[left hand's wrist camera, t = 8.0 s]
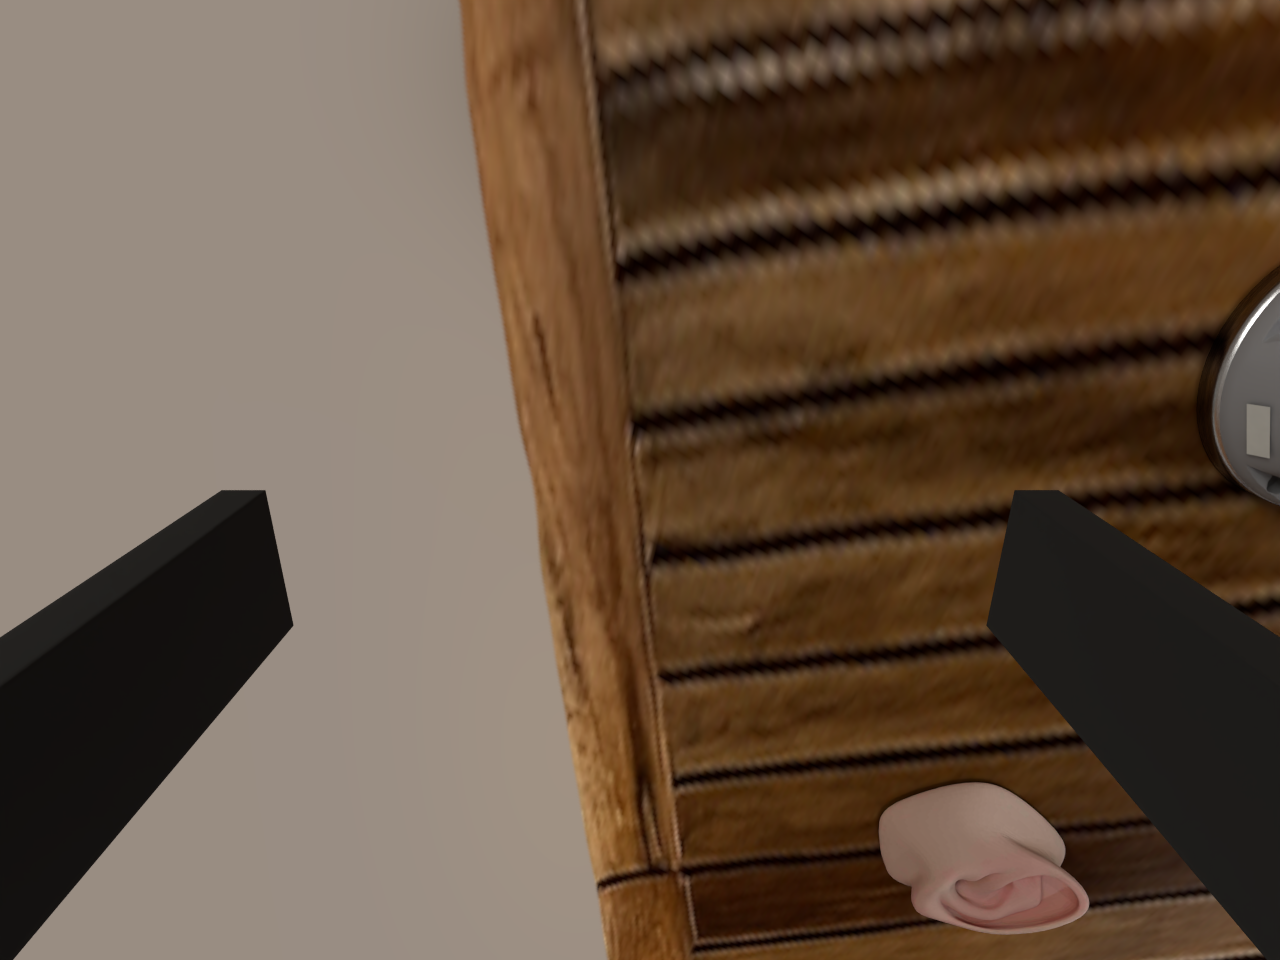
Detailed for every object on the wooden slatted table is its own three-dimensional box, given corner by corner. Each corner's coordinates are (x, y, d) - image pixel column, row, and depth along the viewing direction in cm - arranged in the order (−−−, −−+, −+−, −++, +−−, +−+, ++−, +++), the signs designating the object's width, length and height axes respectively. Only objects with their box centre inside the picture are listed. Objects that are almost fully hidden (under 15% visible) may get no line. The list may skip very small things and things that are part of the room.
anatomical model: (865, 876, 46) (1023, 793, 43) (848, 827, 50) (993, 747, 47) (963, 983, 50) (1114, 912, 47) (940, 930, 53) (1079, 861, 51)
